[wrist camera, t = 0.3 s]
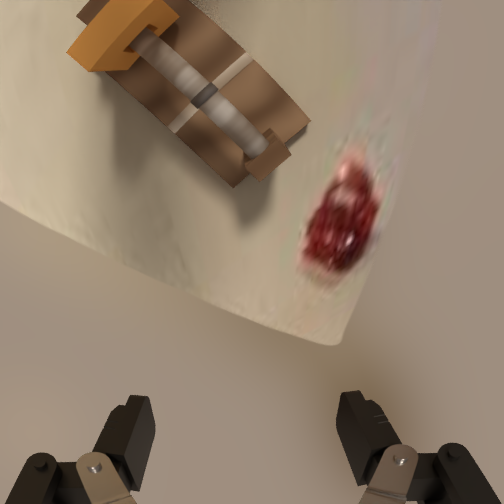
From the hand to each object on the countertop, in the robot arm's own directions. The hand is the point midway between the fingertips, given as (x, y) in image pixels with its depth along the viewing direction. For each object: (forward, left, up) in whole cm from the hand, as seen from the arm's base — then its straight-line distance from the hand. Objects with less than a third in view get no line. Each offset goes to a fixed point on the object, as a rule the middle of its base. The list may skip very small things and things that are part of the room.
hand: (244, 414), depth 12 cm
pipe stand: (-12, +5, -30) cm, 33 cm away
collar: (-19, +5, -28) cm, 34 cm away
